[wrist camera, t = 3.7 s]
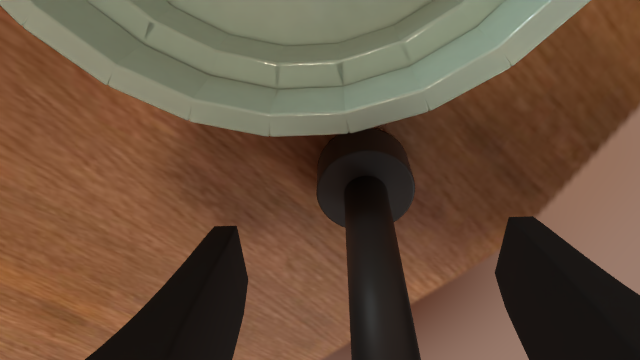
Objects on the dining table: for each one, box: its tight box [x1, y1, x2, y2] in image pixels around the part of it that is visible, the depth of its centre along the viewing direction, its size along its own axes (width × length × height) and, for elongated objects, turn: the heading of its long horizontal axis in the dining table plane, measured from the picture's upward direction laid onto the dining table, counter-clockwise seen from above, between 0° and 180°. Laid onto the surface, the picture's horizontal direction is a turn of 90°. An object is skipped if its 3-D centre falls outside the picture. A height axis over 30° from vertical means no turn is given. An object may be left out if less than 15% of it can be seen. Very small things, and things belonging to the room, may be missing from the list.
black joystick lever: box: [317, 129, 421, 360], centre depth 11 cm, size 3×3×10 cm
